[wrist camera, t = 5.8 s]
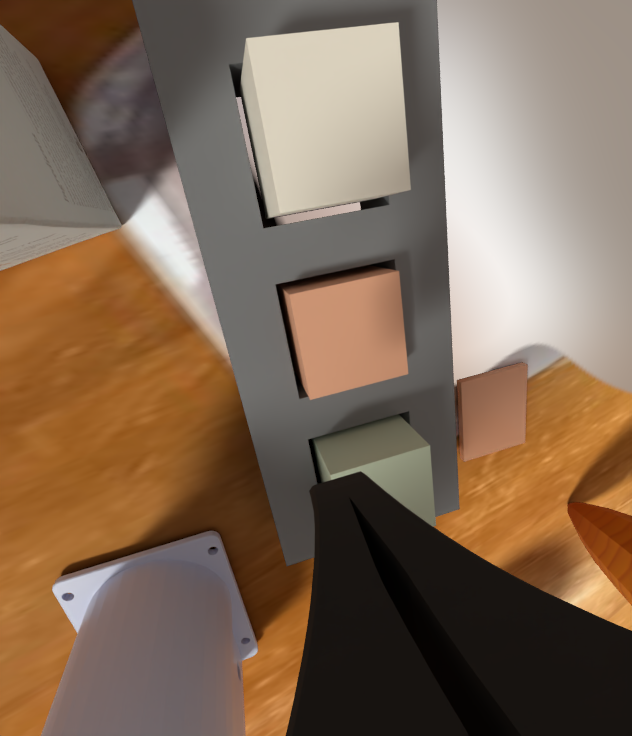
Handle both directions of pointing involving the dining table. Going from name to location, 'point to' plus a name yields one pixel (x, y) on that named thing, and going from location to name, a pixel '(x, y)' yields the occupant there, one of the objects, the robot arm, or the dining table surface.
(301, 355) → the key terracotta
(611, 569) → the carrot
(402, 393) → the keypad
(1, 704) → the dining table surface
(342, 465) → the key sage
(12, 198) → the small box
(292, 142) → the key cream
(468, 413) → the tile
